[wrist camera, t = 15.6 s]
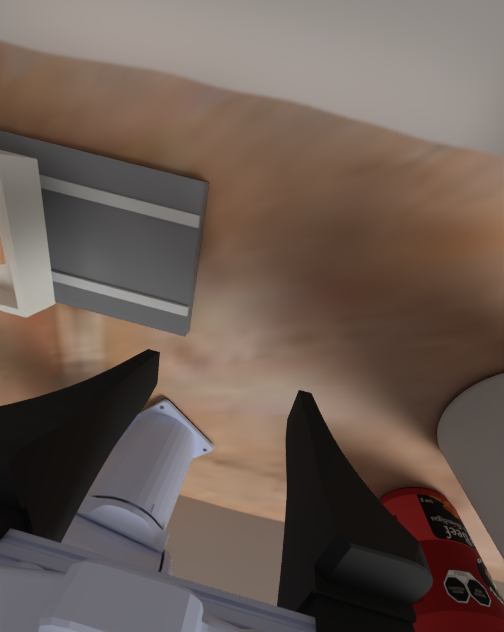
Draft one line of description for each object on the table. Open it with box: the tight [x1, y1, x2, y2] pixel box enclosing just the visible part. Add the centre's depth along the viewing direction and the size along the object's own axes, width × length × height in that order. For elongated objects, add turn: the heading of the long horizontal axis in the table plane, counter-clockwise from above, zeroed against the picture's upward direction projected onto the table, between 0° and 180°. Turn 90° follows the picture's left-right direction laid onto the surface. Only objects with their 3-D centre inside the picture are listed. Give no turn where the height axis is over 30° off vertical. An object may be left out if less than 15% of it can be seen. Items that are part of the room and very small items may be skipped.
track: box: [0, 130, 209, 336], centre depth 20 cm, size 22×12×3 cm, turn 77°
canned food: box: [379, 488, 504, 632], centre depth 24 cm, size 8×8×11 cm
